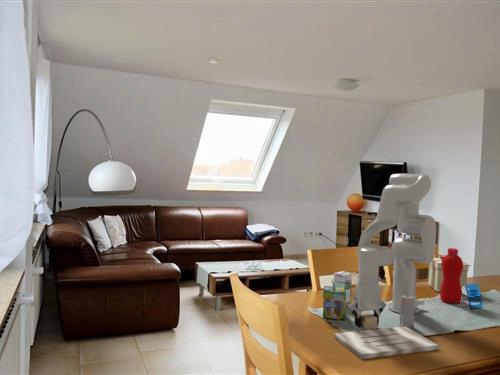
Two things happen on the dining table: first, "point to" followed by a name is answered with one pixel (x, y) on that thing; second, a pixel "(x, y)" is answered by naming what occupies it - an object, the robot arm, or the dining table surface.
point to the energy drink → (407, 311)
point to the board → (385, 342)
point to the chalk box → (334, 302)
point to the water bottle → (451, 277)
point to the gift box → (437, 274)
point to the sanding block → (368, 321)
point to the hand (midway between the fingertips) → (366, 325)
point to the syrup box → (344, 283)
